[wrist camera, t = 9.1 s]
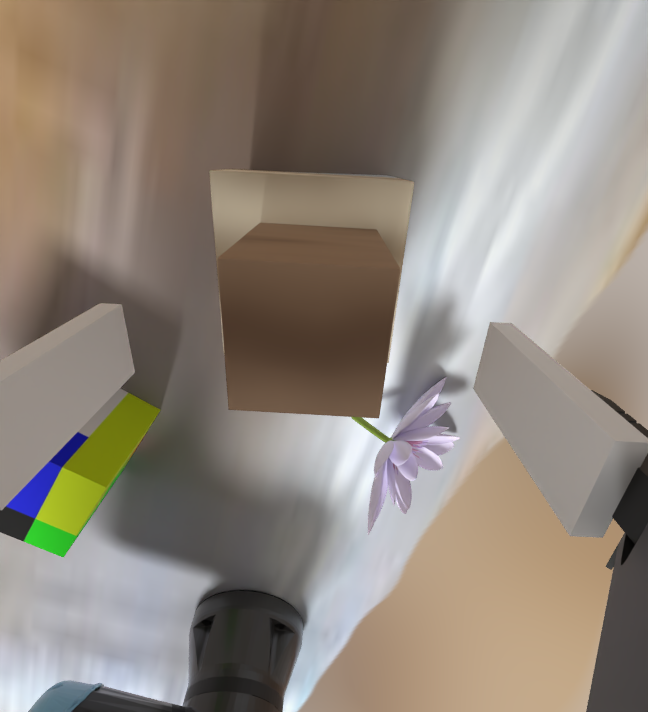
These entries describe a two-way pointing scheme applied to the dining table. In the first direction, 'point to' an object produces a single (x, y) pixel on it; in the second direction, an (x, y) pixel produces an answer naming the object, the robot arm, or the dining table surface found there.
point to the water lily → (408, 452)
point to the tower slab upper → (309, 206)
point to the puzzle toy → (78, 476)
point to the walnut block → (307, 319)
